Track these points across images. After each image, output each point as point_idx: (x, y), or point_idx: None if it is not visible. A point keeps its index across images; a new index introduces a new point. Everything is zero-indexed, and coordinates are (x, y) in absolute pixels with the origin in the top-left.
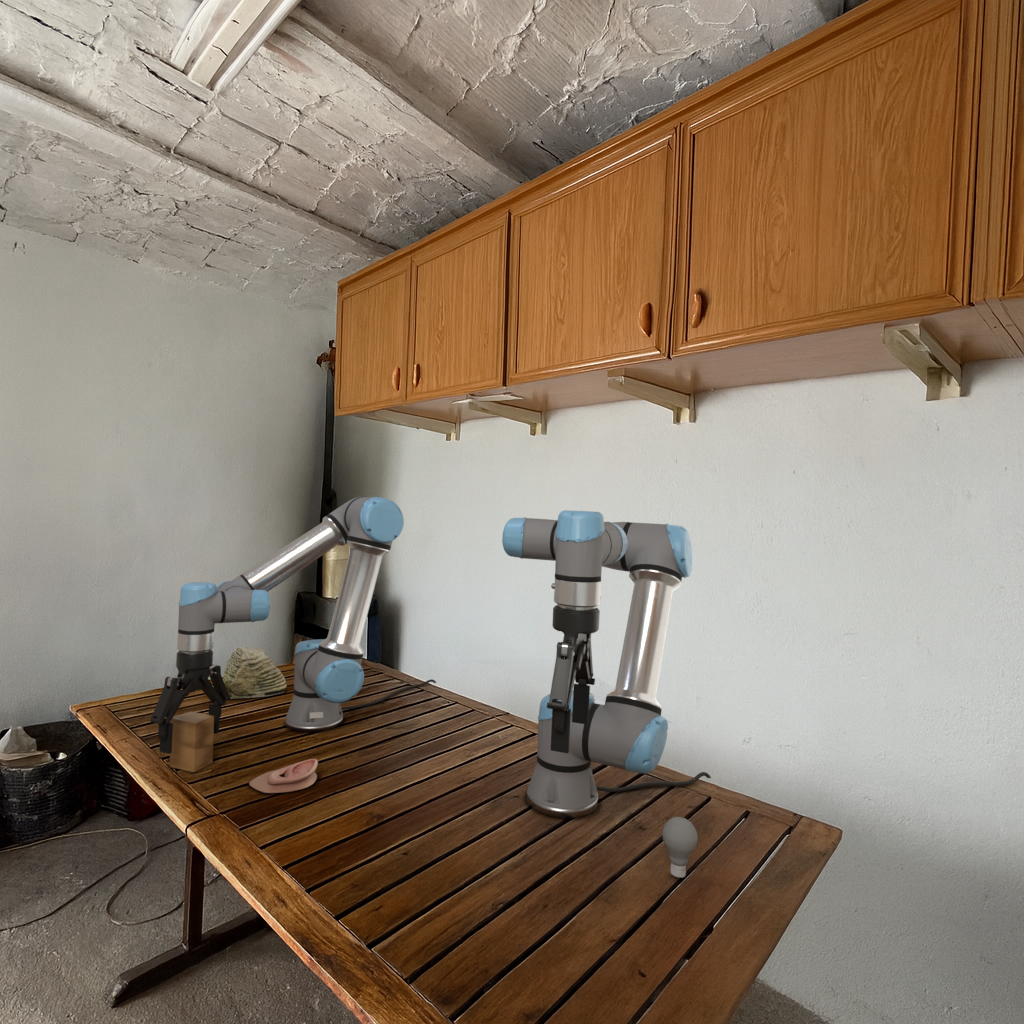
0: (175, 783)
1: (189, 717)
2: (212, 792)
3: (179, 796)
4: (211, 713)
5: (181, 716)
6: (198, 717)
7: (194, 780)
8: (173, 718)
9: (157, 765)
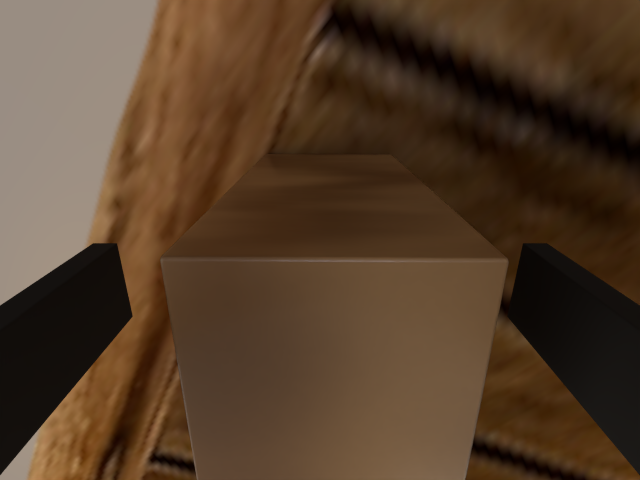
0: (164, 308)
1: (301, 412)
2: (189, 452)
3: (107, 391)
4: (626, 363)
5: (281, 315)
6: (348, 477)
7: None
8: (170, 288)
9: (249, 77)
